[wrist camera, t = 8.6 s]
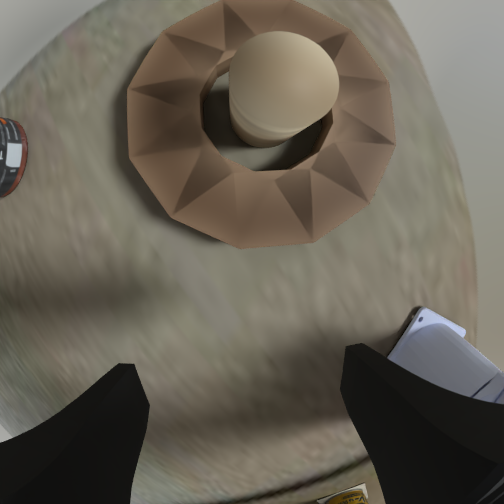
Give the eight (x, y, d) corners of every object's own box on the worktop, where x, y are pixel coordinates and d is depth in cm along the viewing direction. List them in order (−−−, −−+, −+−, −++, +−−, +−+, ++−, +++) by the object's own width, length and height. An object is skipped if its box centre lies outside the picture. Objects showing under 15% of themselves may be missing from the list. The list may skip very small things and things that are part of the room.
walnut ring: (316, 276, 18) (325, 287, 16) (101, 178, 15) (87, 179, 14) (405, 85, 15) (420, 79, 13) (210, -12, 12) (209, -28, 10)
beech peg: (279, 159, 16) (311, 147, 9) (217, 129, 15) (208, 96, 9) (308, 104, 15) (354, 64, 8) (249, 74, 15) (260, 16, 8)
